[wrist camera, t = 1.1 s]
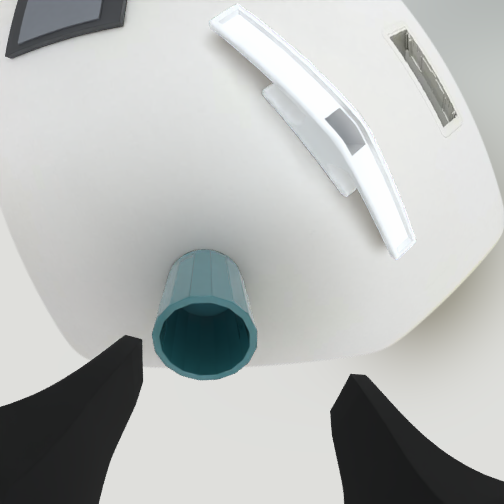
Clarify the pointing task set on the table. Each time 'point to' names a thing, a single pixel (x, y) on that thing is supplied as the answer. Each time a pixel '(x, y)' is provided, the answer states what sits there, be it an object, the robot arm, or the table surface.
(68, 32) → the coffee maker
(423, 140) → the table surface
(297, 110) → the t-shaped cleat
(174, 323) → the cup
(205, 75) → the table surface
